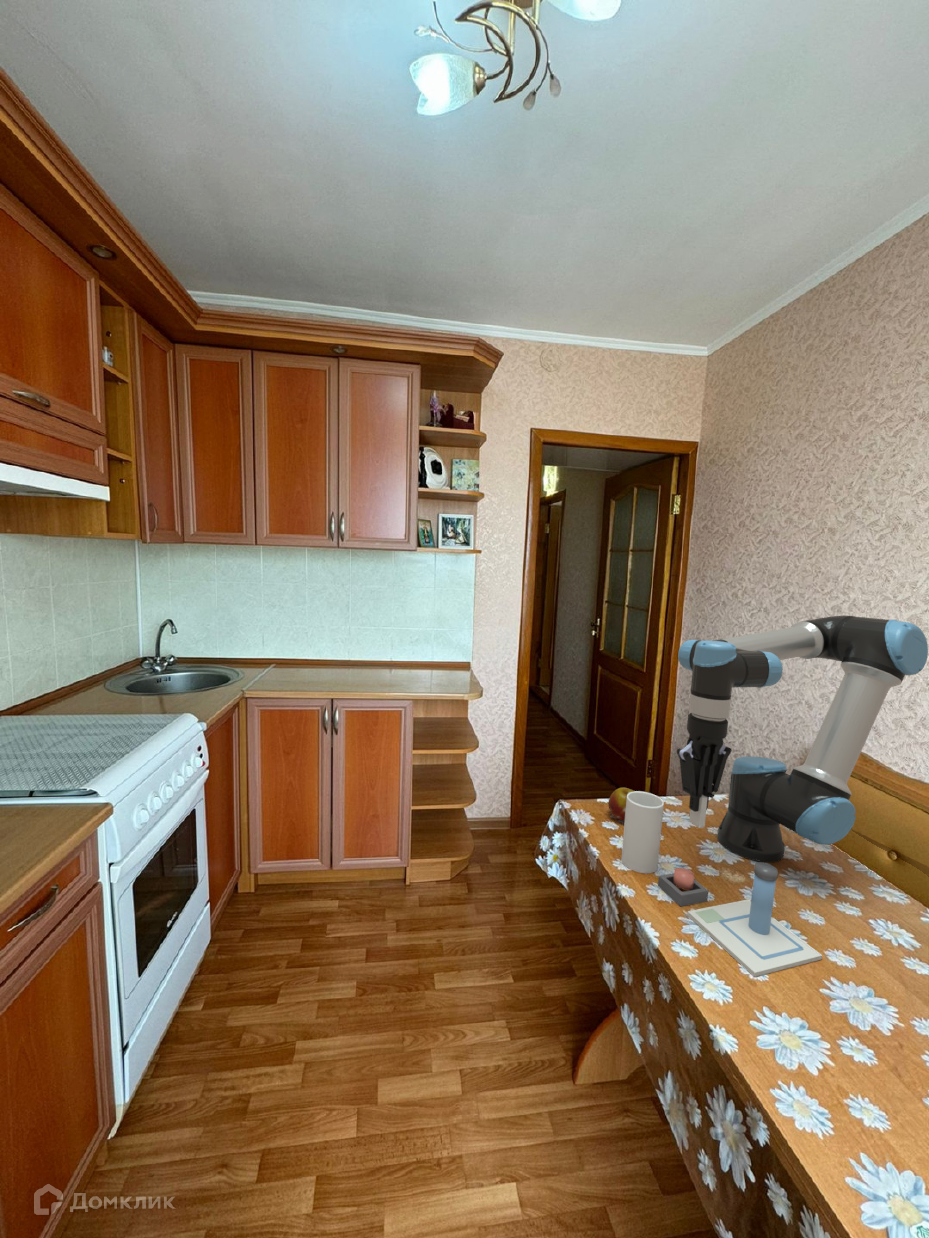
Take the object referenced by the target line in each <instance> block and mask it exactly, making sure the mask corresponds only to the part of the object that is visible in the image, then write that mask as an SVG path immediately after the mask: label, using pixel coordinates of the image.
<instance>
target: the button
mask: <svg viewBox="0 0 929 1238" xmlns="http://www.w3.org/2000/svg"><path fill="white" fill-rule="evenodd" d="M673 873H674V878H673V883H674V884H675V885H676V887H677V888H678V889H682V890H685V891H690V890H691V889H692V888H693V884H694V879H695V873H694V872H693V871H691V870H690V869H688V868H684V867H675V868H674V870H673Z"/></svg>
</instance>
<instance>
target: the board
mask: <svg viewBox="0 0 929 1238" xmlns="http://www.w3.org/2000/svg"><path fill="white" fill-rule="evenodd" d="M750 907H751V899H742V900H738V901H733V902H732V901H731V902H728V903H722V904H718V905H717V904H716V905H712V906H708V907H702V908H698V909H692V910H688V911H687V914H686V915H687V917H688V918H690V919H691V920H692V921H693V922H694V923H695V924H697V926H698V927H700V929H702V931H704V932H705V933H706V934H707V935H709V937H710V938H711V939H712V940H714V941H715V942H716V943H717V944H718V945H719V946H720V947H721V948H722V949H724V950H725V951H726V952H727V954H729V956H731V957H732V958H733V959H734V960H736V962H738V963H739V965H740V966H742V967H743V969H745V970H746V971H747V972H748V973H750V974H751V976H753V977H754V978H756V977H760V976H763V975H768V974H772V973H776V972H779V971H782V970H787V969H791V968H794V967H798V966H801V965H805V964H809V963H813V962H817V961H821V960H823V955H822V954H821V953H820V952H818V950H817V949H815V948H814V947H812V946H811V945H810V944H808V943H807V942H806V941H805V940H803V939H801V938H800V937H799V936H798V935H797V934H795V933H794V932H792V931H791V930H790V929H788V928H787V927H786V926H784V925H783V924H782V923H781V922H779V921H778V920H777V919H775V918H774V917H771V925H770V933H769V934H768V935H761V934H758V933H756V932H754V931H753V930H751V929H750V928H749V926H748V924H749V915H750Z"/></svg>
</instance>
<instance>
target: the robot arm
mask: <svg viewBox="0 0 929 1238" xmlns="http://www.w3.org/2000/svg"><path fill="white" fill-rule="evenodd" d="M928 645H929V644H928V642H927V637H926V634H925V633H924V632H923V630H922V628H920V626H918V625H916V624H914V623H912V622H907V621H900V620H897V619H883V618H876V617H875V618H874V617H873V618H872V617H863V616H854V615H833V616H827V617H826V616H825V617H819V618H814V619H809V620H807V619H806V620H803V621H797V622H795V623H793V624H792V625H791V626H789V627H786V628H780V629H774V630H768V631H763V632H757V633H749V634H744V635H739V636H732V637H727V638H721V639H714V640H710V639H709V640H701V639H688V640H686V641H684V642H683V643H682V644H681V645H680V648H679V649H678V654H677V655H678V656H677V657H678V662H679V664H680V666H681V667H682V668H684V669H686V670H689V671H691V673H692V674H691V682H690V694H689V695H690V696H689V705H688V707H689V708H688V711H689V712H690V713H689V714H687V723H686V724H687V725H686V731H687V732H688V734H689V736H688V739H687V741H686V746H685V747H683V748H677V749H676V754H677V757H678V758H679V764H680V765H679V766H680V776H681V786H682V791H683V792H685V793H687V794H688V795H689V804H688V808H689V809H690V810H689V818H688V819H689V820H688V822H689V823H690V824H692V825H694V826H695V827H696V828H698V829H701V828H705V826H706V816H707V815H706V814H707V810H708V808H709V801H710V800H709V799H710V798H711V799H713V798H714V797H715V794H713V793H718V792H719V788H720V786H721V785H720V784H721V781H722V778H723V775H724V771H725V767H726V763H727V760H728V758H729V756H730V754H731V753H732V751H733V750H732V748H731V747H730V746H729V747H728V746H727V745H725V744H724V739H725V738H726V737H727V736H728V727H729V721H728V718H729V717H730V709H731V700H732V699H731V698H732V691H733V688H765V687H771V686H775V685H776V684H777V683H778V682H780V680H781V679H782V676H783V671H784V670H783V669H784V668H783V664H782V661H783V660H787V659H788V660H789V659H794V658H801V659H804V660H809V659H810V660H812V659H825V660H832V661H837V662H841V663H840V667H841V669H842V670H843V673H844V675H843V677H842V680H841V681H840V684H839V686H838V688H837V691H836V693H835V694H834V697H833V700H832V701H831V704H830V706H829V708H828V710H827V712H826V715H825V716H824V719H823V721H822V724H821V725H820V727H819V730H818V732H817V734H816V736H815V739H814V741H813V743H812V745H811V747H810V750H809V751H808V754H807V757H806V759H805V760H804V763H803V764H802V765H798V766H794V767H793V768H792V770H791V772H790V774H789V773H787V771H788V769H787V766H786V764H785V763H784V762H782V761H780V760H777V759H773V758H768V757H761V756H749V755H748V756H740V757H737V758H736V759H735V760H734V761H733V763H732V768H731V769H732V770H731V772H730V774H731V775H730V783H729V794H728V804H727V811H726V813H725V815H724V817H723V818H722V821H721V822H720V824H719V826H718V829H717V836H716V837H717V841H718V842H719V843H720V845H722V847H724V848H726V850H728V851H730V852H731V853H734V854H735V855H738V856H740V857H742V858H746V859H748V860H753V861H755V862H763V863H776V862H779V861H781V860H783V859H784V857H785V850H786V845H785V842H784V840H783V836H782V830H781V826H783V827H784V828H787V829H789V830H790V831H792V832H793V833H796V834H797V835H798V836H800V837H802V838H804V839H807V840H809V841H811V842H813V843H815V844H817V845H820V846H821V845H823V846H828V845H829V846H830V845H834V844H835V843H837V842H839V841H841V840H842V839H844V838H845V837H846V836H847V835H848V834H849V833H850V831H851V830H852V828H853V827H854V824H855V821H856V815H855V814H856V808H855V805H854V804H853V803H852V802H851V800H850V799H851V796H852V791H851V790H850V787H849V786H848V782H849V779H850V777H851V775H852V772H853V770H854V768H855V767H856V764H857V762H858V760H859V758H860V755H861V752H862V750H863V748H864V746H865V744H866V742H867V739H868V737H869V735H870V733H871V730H872V728H873V726H874V725H875V722H876V721H877V717H878V715H879V713H880V711H881V709H882V706H883V704H884V702H885V699H886V697H887V695H888V693H889V691H890V689H892V688H894V687H896V686H900V685H901V684H902V683H903V680H904V678H905V677H906V676H914V675H917V674H919V672H921V671H922V670H923V669H924V667H925V666H926V663H927V660H928V656H929V646H928Z"/></svg>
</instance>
